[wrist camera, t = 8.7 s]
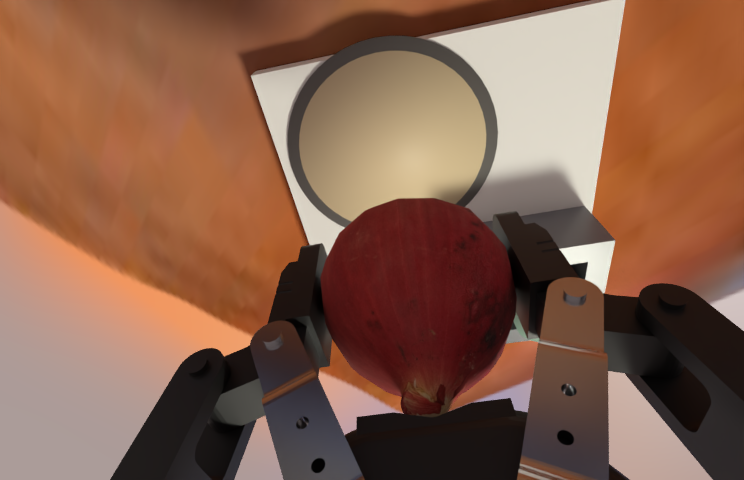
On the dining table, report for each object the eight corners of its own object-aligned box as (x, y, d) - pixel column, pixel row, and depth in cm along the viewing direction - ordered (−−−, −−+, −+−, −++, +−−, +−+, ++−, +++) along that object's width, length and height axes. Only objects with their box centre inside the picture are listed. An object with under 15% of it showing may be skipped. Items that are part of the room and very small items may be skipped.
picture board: (251, 60, 19) (245, 65, 18) (615, -18, 18) (629, -17, 17) (343, 329, 30) (342, 340, 29) (571, 296, 29) (578, 308, 28)
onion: (461, 131, 13) (557, 297, 7) (494, 258, 16) (582, 457, 10) (304, 188, 14) (254, 378, 8) (363, 297, 17) (363, 498, 11)
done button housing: (464, 225, 24) (477, 261, 21) (584, 205, 23) (615, 240, 20) (469, 306, 28) (481, 346, 25) (572, 292, 27) (596, 331, 24)
